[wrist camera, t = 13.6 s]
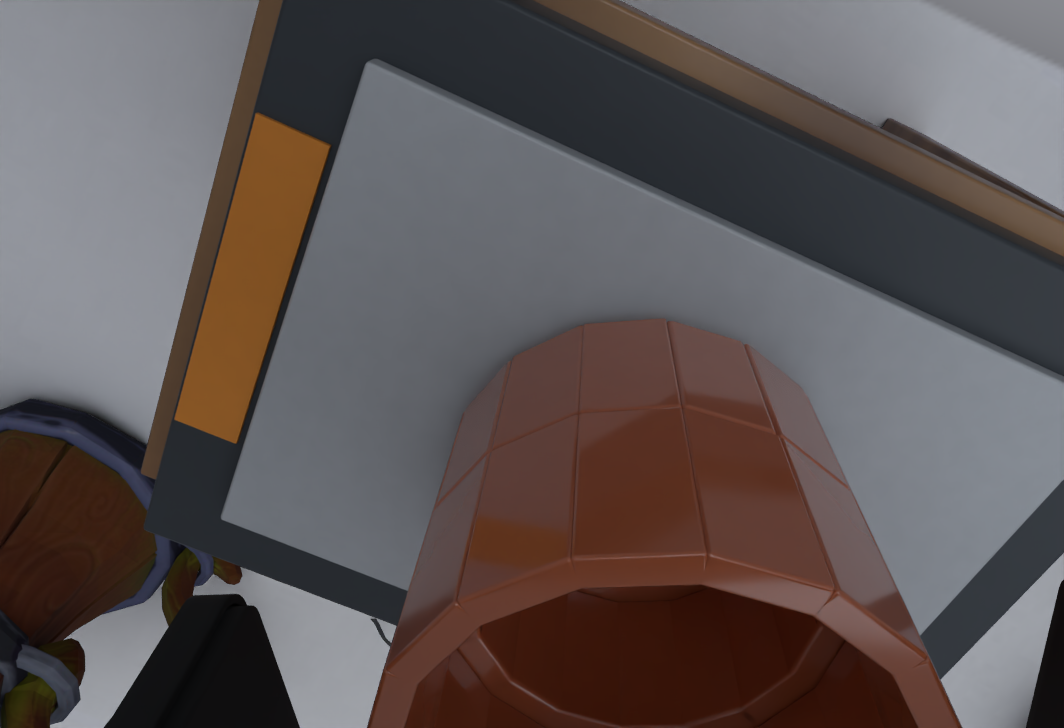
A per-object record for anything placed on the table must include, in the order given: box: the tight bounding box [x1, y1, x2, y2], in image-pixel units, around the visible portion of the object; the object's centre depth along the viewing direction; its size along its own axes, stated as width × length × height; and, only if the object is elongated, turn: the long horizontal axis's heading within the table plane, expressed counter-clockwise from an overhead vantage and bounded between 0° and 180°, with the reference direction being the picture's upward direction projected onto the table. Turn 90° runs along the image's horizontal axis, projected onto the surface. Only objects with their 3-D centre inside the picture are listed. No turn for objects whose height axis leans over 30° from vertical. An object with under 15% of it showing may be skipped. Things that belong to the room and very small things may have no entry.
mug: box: [0, 399, 242, 728], centre depth 33 cm, size 18×12×15 cm, turn 66°
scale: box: [144, 0, 1064, 679], centre depth 15 cm, size 16×12×2 cm
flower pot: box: [367, 318, 962, 728], centre depth 12 cm, size 6×6×6 cm
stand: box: [141, 0, 1064, 480], centre depth 24 cm, size 18×13×16 cm
